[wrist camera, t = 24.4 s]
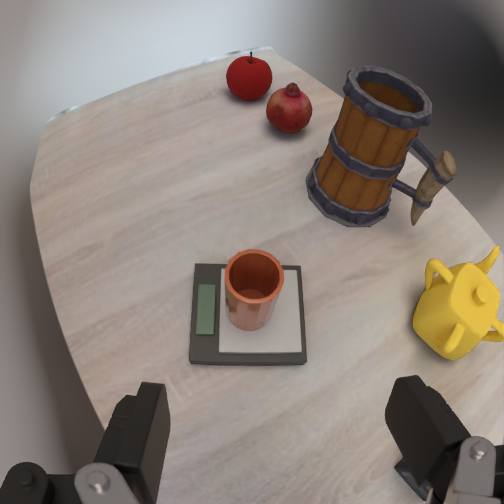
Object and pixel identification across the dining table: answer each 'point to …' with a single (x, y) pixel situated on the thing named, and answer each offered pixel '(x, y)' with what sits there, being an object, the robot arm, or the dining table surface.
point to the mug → (376, 150)
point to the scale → (240, 341)
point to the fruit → (289, 109)
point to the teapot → (458, 307)
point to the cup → (252, 288)
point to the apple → (249, 77)
